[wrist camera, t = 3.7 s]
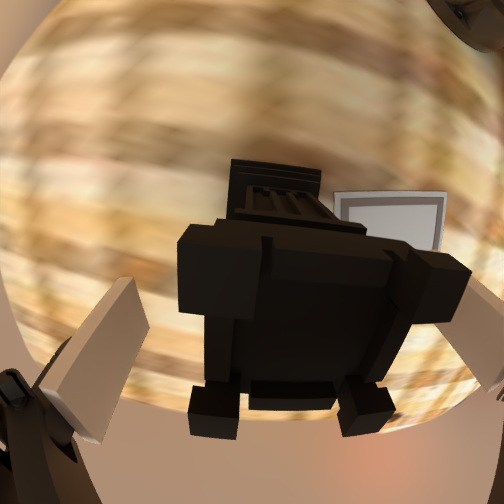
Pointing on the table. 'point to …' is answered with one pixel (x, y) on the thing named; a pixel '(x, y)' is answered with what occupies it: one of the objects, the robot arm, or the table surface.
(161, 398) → the table surface
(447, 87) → the table surface
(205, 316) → the chess piece
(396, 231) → the print sheet
